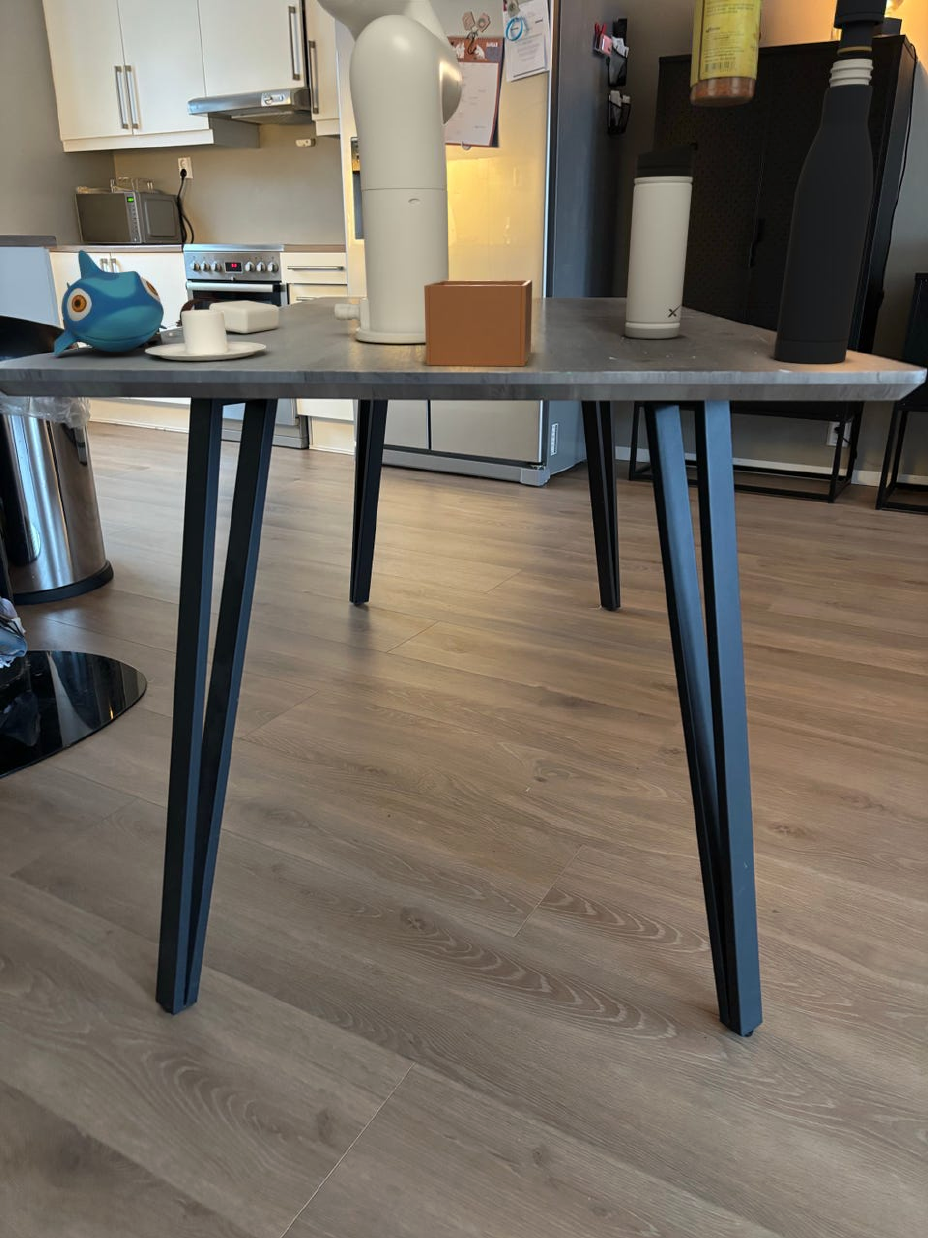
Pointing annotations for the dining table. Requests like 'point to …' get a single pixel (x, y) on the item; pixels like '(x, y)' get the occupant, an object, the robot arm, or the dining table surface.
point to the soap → (248, 316)
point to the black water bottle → (832, 204)
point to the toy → (109, 309)
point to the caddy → (478, 322)
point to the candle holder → (205, 340)
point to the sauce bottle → (724, 51)
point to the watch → (191, 303)
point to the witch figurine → (176, 326)
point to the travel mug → (659, 242)
